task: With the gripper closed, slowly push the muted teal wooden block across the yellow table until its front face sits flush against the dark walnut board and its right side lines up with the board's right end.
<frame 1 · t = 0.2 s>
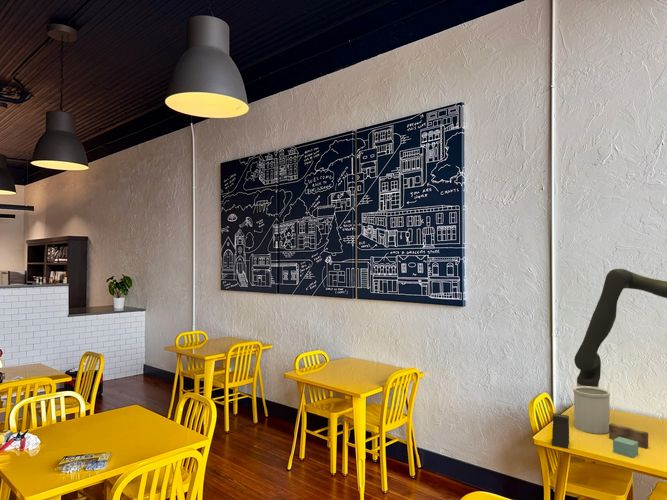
teal block: (625, 453, 188), on the table
phone stand: (560, 444, 197), on the table
walnut board: (628, 442, 199), on the table
utensil holder: (591, 429, 215), on the table
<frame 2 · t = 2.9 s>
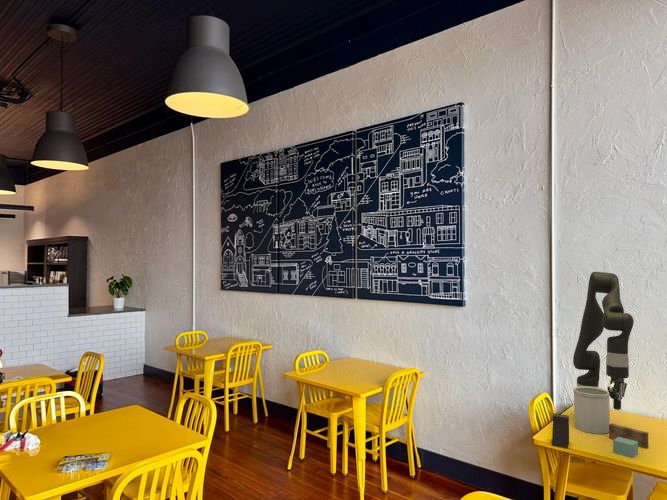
hand: (617, 409, 183), 19 cm above the table, tool pointing down, fingers closed
nothing on the table moved.
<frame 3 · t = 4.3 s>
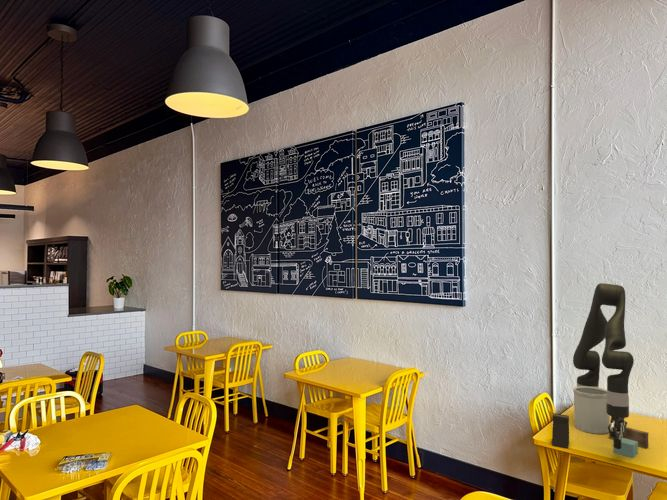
hand: (617, 448, 183), 4 cm above the table, tool pointing down, fingers closed
nothing on the table moved.
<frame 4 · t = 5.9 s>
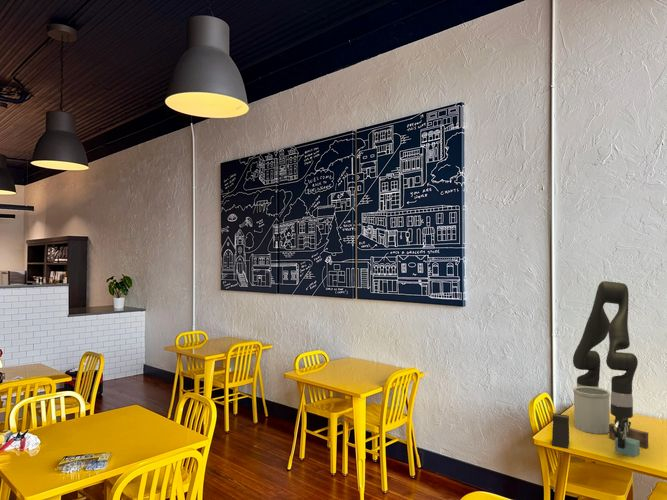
hand: (621, 447, 186), 3 cm above the table, tool pointing down, fingers closed
teal block: (627, 452, 189), on the table, touching gripper
everything else where it was.
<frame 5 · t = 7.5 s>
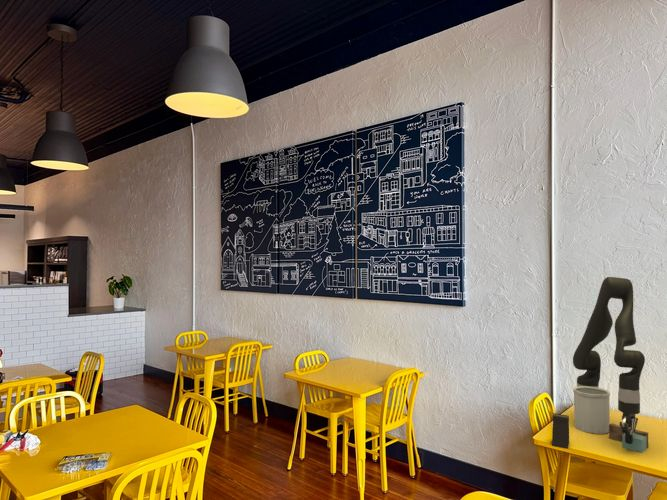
hand: (628, 443, 191), 3 cm above the table, tool pointing down, fingers closed
teal block: (634, 448, 193), on the table, touching gripper, walnut board
everything else where it was.
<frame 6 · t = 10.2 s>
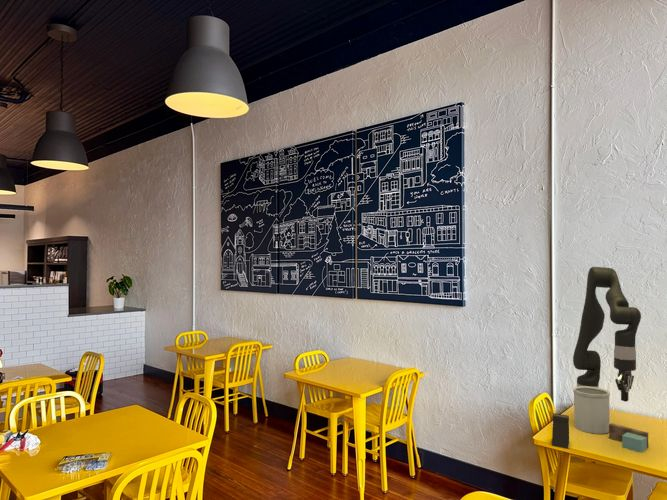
hand: (624, 400, 188), 21 cm above the table, tool pointing down, fingers closed
teal block: (634, 448, 193), on the table
everything else where it was.
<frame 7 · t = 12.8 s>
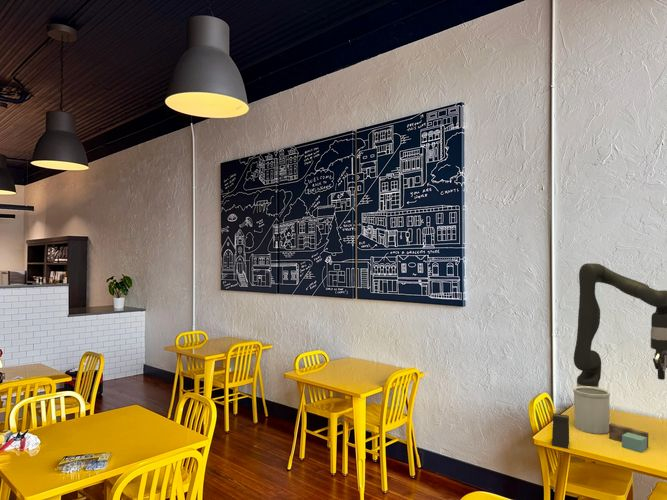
hand: (661, 379, 199), 27 cm above the table, tool pointing down, fingers closed
nothing on the table moved.
at the end: teal block 0.3 cm from the target spot on the table beside the walnut board, on the table; teal block tilted 0° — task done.
